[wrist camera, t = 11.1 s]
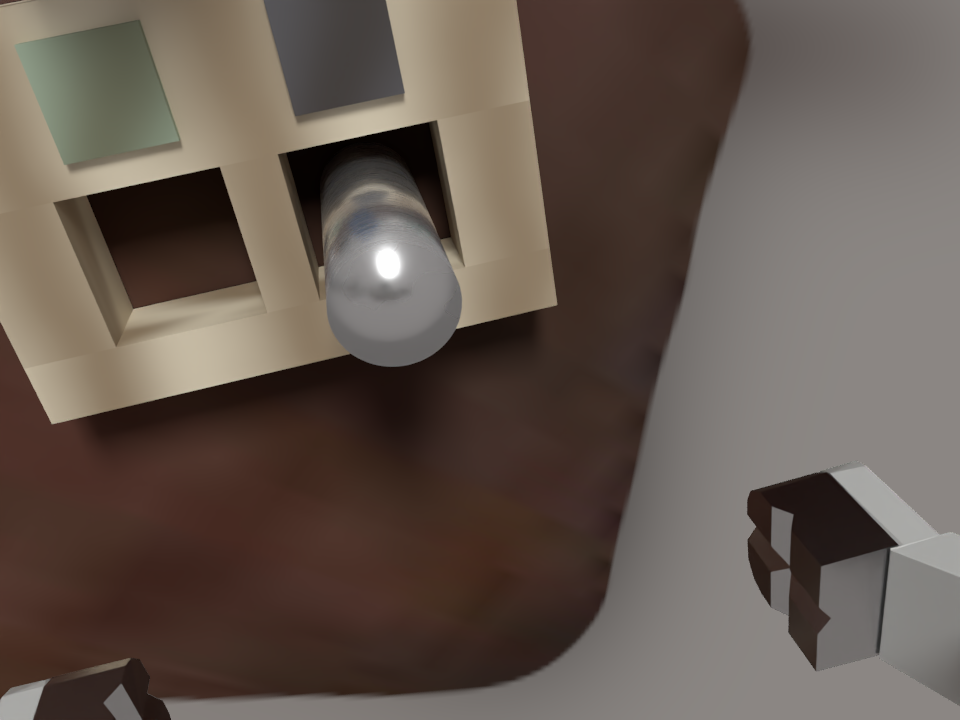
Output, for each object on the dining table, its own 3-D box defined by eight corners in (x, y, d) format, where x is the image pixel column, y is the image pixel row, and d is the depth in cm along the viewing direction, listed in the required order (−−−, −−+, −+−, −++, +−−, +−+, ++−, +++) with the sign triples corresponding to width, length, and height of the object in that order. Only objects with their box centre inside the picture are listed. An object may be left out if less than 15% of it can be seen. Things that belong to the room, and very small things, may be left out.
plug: (333, 243, 29) (345, 380, 20) (308, 152, 27) (310, 259, 19) (422, 222, 29) (472, 349, 21) (403, 132, 28) (448, 228, 19)
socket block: (74, 379, 30) (49, 429, 27) (-95, 23, 24) (-150, 37, 21) (535, 272, 31) (559, 308, 28) (483, -89, 25) (506, -91, 22)
